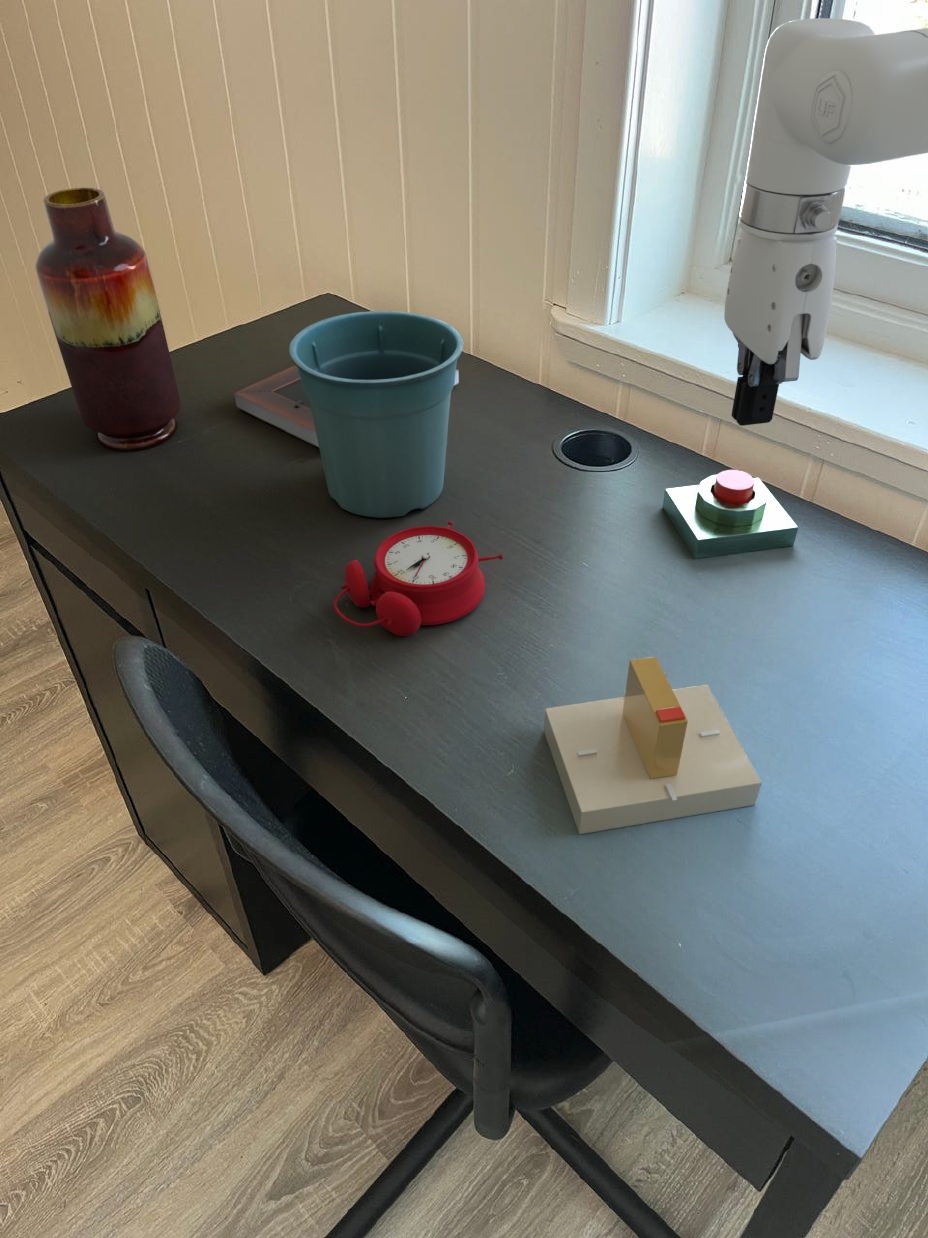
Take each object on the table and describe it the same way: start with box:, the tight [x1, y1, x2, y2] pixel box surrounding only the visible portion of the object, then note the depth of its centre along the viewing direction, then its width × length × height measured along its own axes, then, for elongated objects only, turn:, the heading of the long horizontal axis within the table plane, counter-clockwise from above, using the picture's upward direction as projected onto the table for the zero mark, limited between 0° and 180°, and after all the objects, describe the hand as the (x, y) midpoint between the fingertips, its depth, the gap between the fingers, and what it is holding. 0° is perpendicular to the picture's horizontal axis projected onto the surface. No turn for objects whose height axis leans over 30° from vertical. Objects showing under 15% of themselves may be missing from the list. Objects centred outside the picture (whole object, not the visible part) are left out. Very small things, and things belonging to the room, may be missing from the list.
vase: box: [34, 187, 181, 452], centre depth 101 cm, size 11×11×26 cm
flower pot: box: [288, 310, 464, 519], centre depth 95 cm, size 16×16×16 cm
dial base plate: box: [543, 684, 762, 835], centre depth 69 cm, size 13×11×3 cm
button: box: [713, 469, 755, 504], centre depth 91 cm, size 4×4×2 cm
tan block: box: [623, 656, 688, 779], centre depth 67 cm, size 6×2×6 cm, turn 10°
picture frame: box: [233, 364, 460, 448], centre depth 114 cm, size 16×2×22 cm
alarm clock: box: [333, 520, 504, 637], centre depth 84 cm, size 10×6×15 cm
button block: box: [662, 474, 799, 560], centre depth 92 cm, size 10×9×4 cm
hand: (751, 419), depth 85 cm, fingers closed
